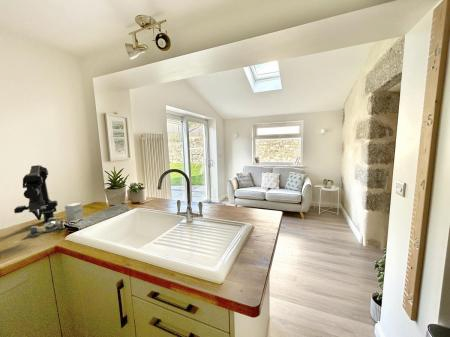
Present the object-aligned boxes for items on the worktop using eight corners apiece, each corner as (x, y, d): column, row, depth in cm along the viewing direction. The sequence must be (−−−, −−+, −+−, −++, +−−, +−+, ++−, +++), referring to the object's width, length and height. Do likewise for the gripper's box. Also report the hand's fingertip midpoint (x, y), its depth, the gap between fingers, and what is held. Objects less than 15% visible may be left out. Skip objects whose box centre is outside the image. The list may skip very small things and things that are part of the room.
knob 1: (28, 233, 122) (27, 228, 121) (34, 230, 126) (33, 225, 125) (41, 232, 122) (41, 227, 122) (47, 229, 126) (46, 225, 125)
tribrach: (32, 228, 134) (31, 221, 134) (72, 219, 147) (71, 213, 146) (26, 238, 119) (25, 230, 118) (71, 227, 132) (70, 221, 131)
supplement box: (75, 223, 140) (72, 206, 138) (66, 222, 141) (64, 205, 140) (84, 219, 147) (82, 202, 145) (76, 218, 148) (73, 202, 147)
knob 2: (48, 224, 135) (47, 219, 135) (49, 222, 139) (48, 218, 138) (63, 221, 140) (62, 216, 140) (63, 219, 143) (62, 215, 143)
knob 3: (61, 225, 133) (60, 220, 132) (68, 223, 135) (68, 218, 135) (60, 228, 126) (59, 224, 126) (68, 227, 129) (67, 222, 128)
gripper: (9, 201, 107) (14, 228, 109) (54, 194, 118) (58, 219, 120) (14, 197, 116) (19, 222, 118) (55, 191, 127) (59, 214, 129)
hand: (39, 219), depth 121 cm, fingers closed
